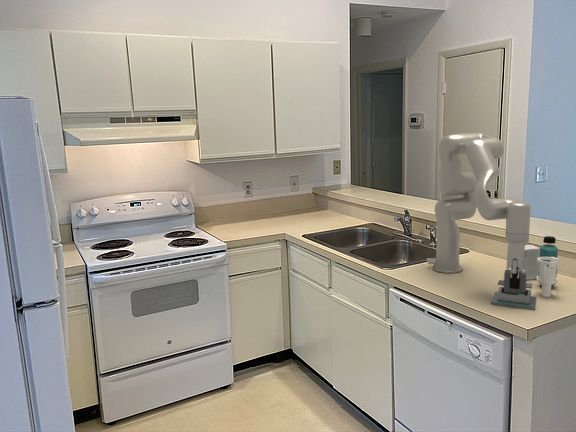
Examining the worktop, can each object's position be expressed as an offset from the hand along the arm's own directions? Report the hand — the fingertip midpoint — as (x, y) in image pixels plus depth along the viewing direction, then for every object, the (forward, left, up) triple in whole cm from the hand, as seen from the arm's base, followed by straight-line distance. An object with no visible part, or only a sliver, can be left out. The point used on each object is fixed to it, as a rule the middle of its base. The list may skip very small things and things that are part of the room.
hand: (514, 285), depth 175 cm
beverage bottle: (+10, +21, -6) cm, 24 cm away
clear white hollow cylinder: (+10, +11, -6) cm, 16 cm away
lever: (0, 0, -3) cm, 3 cm away
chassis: (0, 0, -6) cm, 6 cm away
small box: (+2, +30, -6) cm, 31 cm away
